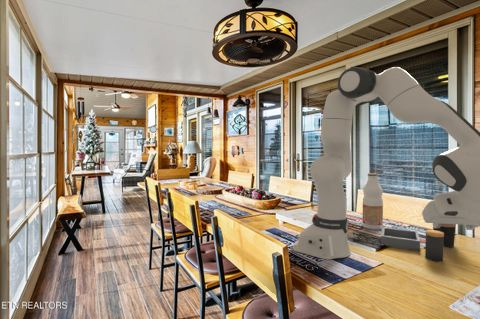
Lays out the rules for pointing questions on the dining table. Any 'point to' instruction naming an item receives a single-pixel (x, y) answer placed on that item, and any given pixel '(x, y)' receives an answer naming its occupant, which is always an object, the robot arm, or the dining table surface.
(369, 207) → the fruit juice
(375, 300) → the dining table surface
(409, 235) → the open square box
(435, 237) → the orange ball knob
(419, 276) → the dining table surface
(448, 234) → the travel mug
